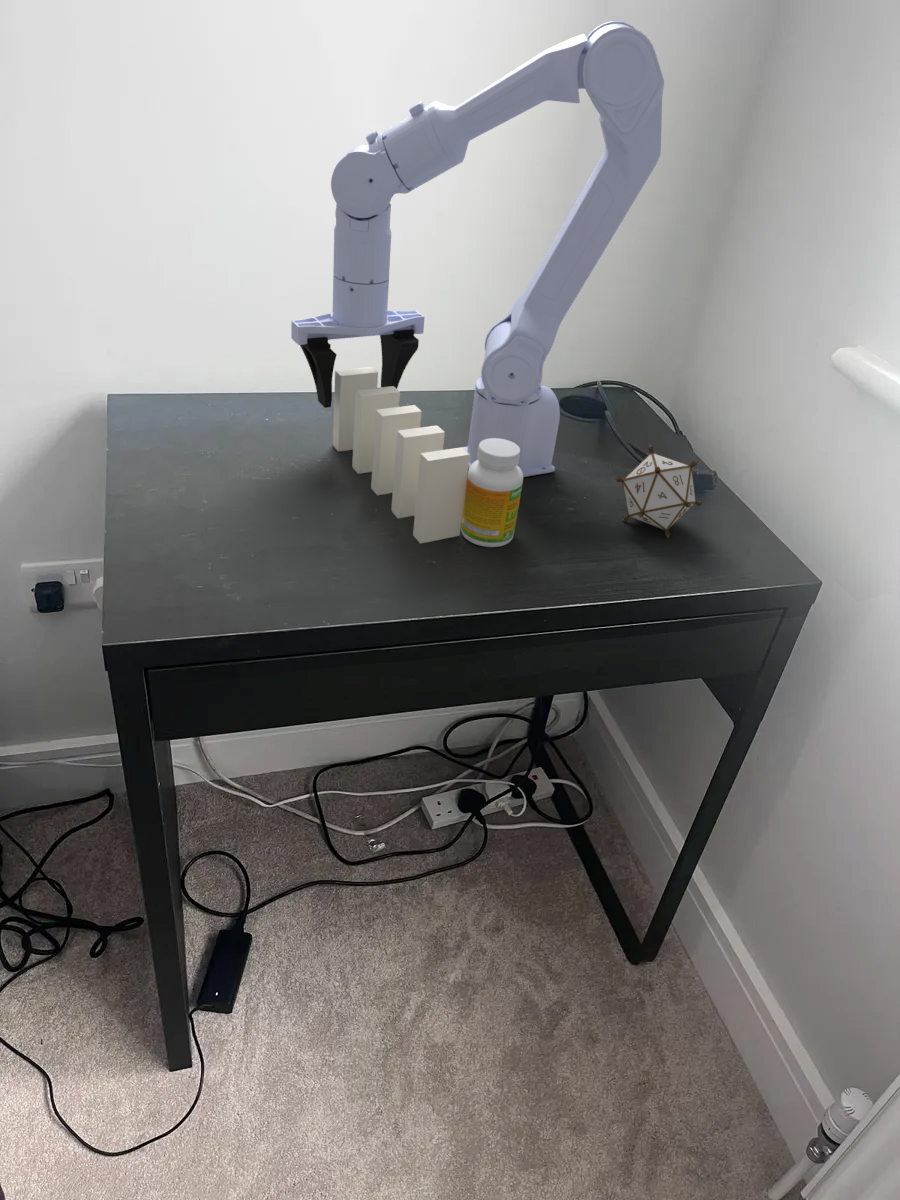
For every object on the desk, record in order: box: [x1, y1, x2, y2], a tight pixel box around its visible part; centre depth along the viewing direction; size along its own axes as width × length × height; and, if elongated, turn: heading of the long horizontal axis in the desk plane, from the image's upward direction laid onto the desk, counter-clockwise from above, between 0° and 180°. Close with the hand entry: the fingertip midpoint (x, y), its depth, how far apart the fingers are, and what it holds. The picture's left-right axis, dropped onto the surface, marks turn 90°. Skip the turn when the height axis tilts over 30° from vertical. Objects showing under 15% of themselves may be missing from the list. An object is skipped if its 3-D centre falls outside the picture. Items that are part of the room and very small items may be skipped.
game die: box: [614, 443, 704, 539], centre depth 95 cm, size 9×8×10 cm
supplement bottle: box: [460, 438, 524, 548], centre depth 89 cm, size 5×5×10 cm
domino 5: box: [412, 446, 470, 544], centre depth 88 cm, size 4×2×9 cm, turn 119°
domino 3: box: [370, 404, 423, 496], centre depth 95 cm, size 4×2×9 cm, turn 119°
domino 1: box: [332, 366, 379, 452], centre depth 103 cm, size 4×2×9 cm, turn 119°
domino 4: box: [390, 425, 446, 519], centre depth 92 cm, size 4×2×9 cm, turn 119°
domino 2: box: [351, 386, 401, 475], centre depth 99 cm, size 4×2×9 cm, turn 119°
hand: (356, 400), depth 102 cm, fingers open, 7 cm apart
